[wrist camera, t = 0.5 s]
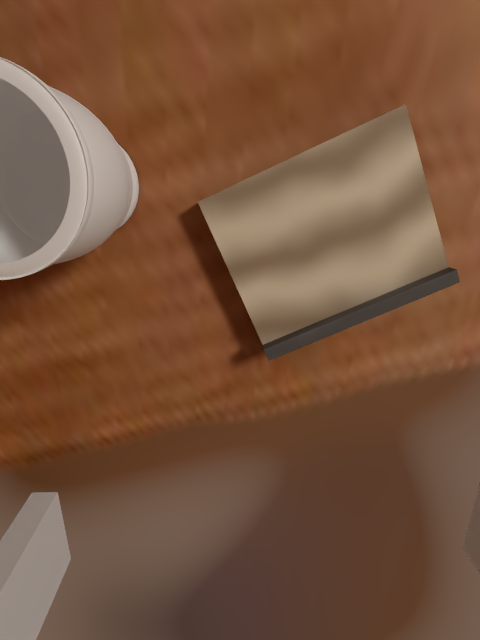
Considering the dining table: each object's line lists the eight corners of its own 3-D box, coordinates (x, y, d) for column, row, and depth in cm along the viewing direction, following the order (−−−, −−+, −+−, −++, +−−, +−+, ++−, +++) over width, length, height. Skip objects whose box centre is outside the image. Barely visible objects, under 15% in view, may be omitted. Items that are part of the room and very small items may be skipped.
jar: (100, 270, 34) (6, 320, 20) (4, 187, 32) (-180, 175, 18) (176, 184, 32) (133, 170, 18) (80, 87, 30) (-59, -18, 15)
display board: (199, 201, 33) (196, 201, 29) (394, 110, 31) (412, 100, 28) (266, 349, 37) (269, 362, 34) (440, 276, 35) (460, 284, 32)
